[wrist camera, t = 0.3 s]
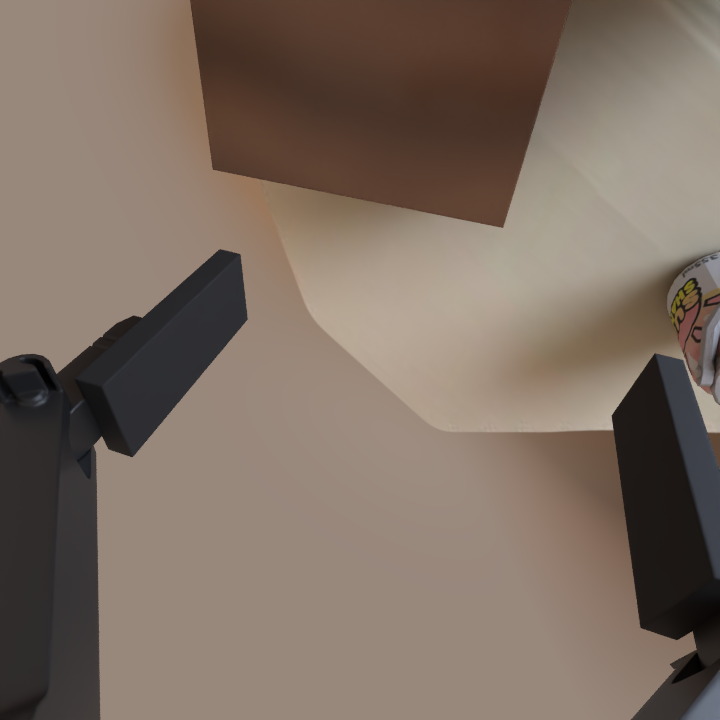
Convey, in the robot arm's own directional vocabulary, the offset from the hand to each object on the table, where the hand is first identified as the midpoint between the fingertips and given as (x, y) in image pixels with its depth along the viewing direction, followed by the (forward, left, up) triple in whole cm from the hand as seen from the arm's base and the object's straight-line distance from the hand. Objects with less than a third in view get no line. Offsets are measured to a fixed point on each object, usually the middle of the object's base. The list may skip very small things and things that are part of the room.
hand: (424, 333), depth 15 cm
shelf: (-3, -8, -28) cm, 29 cm away
